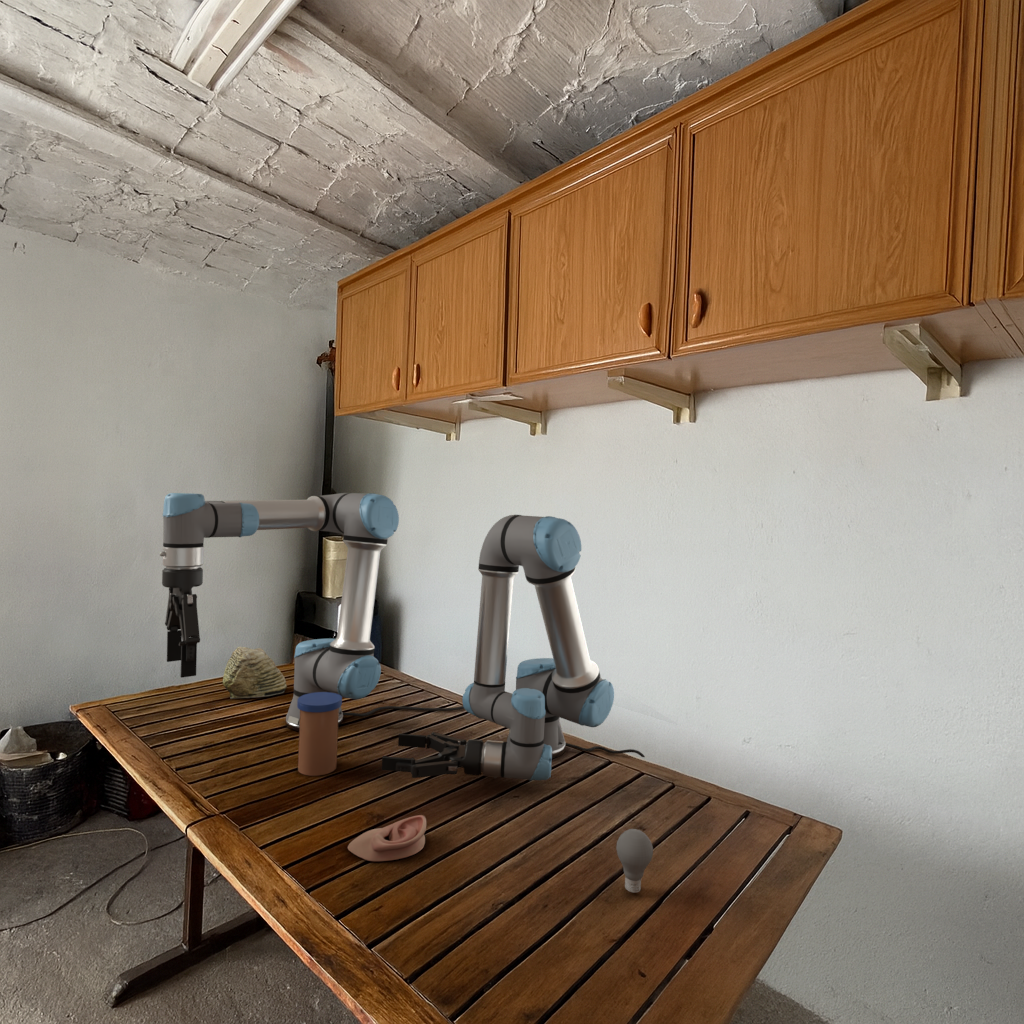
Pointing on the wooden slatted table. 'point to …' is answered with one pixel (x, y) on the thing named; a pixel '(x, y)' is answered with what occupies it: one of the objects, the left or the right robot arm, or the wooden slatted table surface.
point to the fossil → (252, 674)
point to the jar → (318, 742)
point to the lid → (319, 702)
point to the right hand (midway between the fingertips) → (390, 750)
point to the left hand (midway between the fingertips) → (180, 668)
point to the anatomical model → (391, 840)
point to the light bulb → (634, 857)
